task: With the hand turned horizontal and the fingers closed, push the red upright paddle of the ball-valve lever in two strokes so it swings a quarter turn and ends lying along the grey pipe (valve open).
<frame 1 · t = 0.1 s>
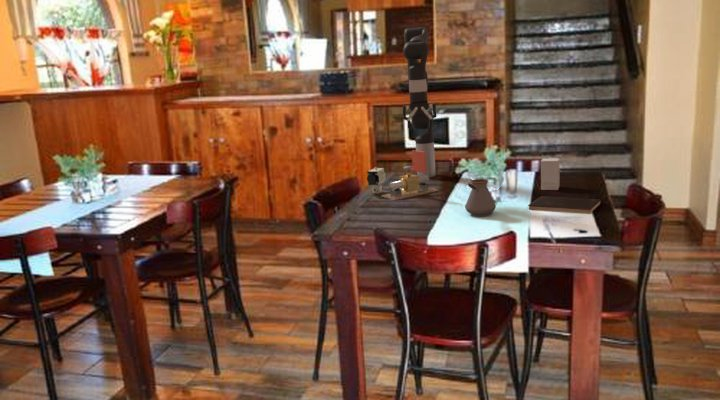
hand: (420, 128, 269), 30 cm above the table, tool pointing down, fingers open, 8 cm apart
valve body: (409, 193, 281), on the table
supplement box: (550, 188, 271), on the table
hardcover book: (564, 208, 239), on the table
lever: (414, 161, 273), point 15 cm above the table, hinge at 90.0°
coffee pot: (477, 217, 233), on the table
pneumatic valve: (378, 193, 288), on the table
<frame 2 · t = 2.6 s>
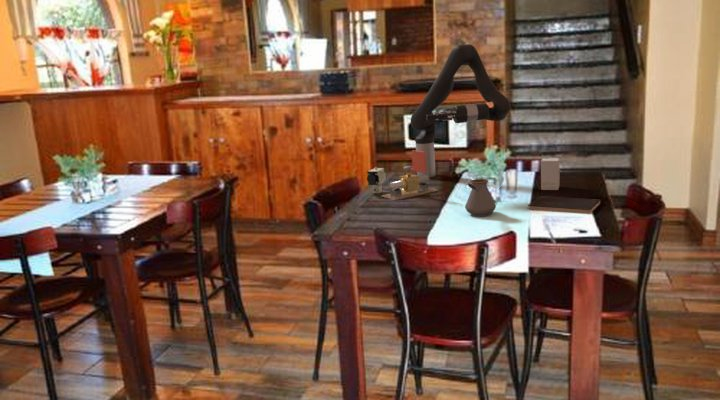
hand: (427, 118, 266), 34 cm above the table, tool horizontal, fingers closed
nothing on the table moved.
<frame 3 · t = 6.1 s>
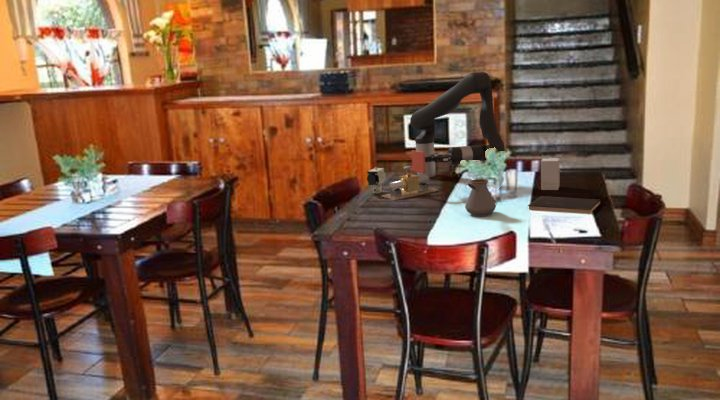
hand: (422, 159, 269), 16 cm above the table, tool horizontal, fingers closed
lever: (414, 161, 273), point 15 cm above the table, hinge at 87.6°, touching gripper
everything else where it was.
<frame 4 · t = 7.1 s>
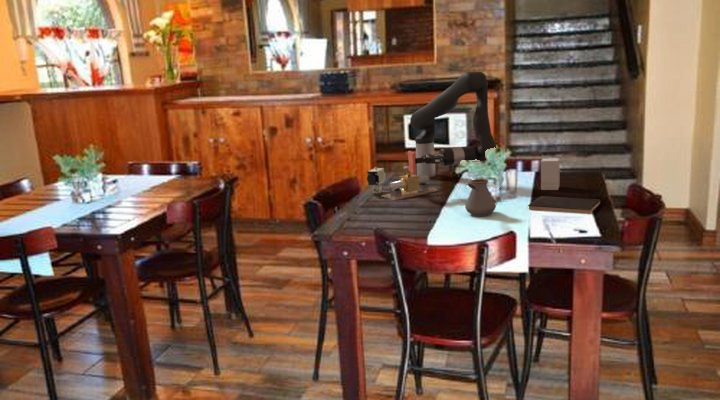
hand: (414, 161, 267), 16 cm above the table, tool horizontal, fingers closed
lever: (410, 161, 272), point 15 cm above the table, hinge at 66.2°, touching gripper
everything else where it was.
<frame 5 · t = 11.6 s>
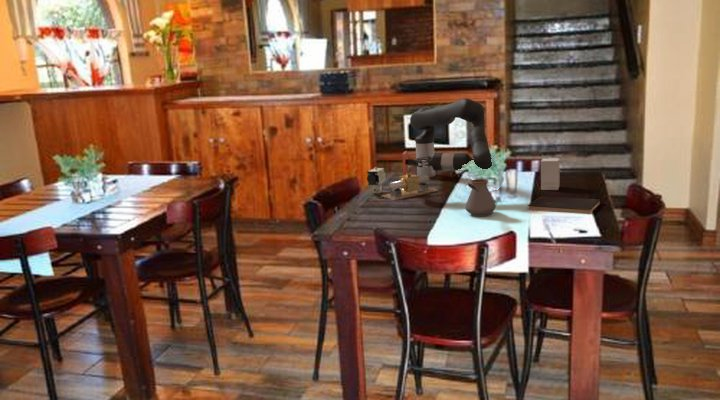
hand: (406, 161, 268), 16 cm above the table, tool horizontal, fingers closed
lever: (406, 162, 273), point 15 cm above the table, hinge at 46.5°, touching gripper
everything else where it was.
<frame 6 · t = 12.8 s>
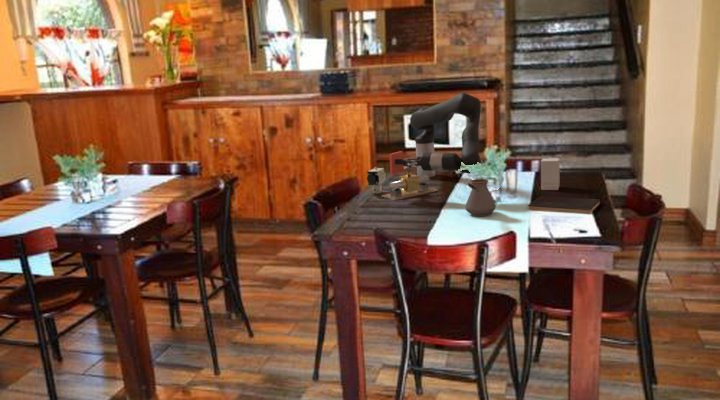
hand: (395, 161, 270), 16 cm above the table, tool horizontal, fingers closed
lever: (400, 162, 274), point 15 cm above the table, hinge at 18.0°, touching gripper
everything else where it was.
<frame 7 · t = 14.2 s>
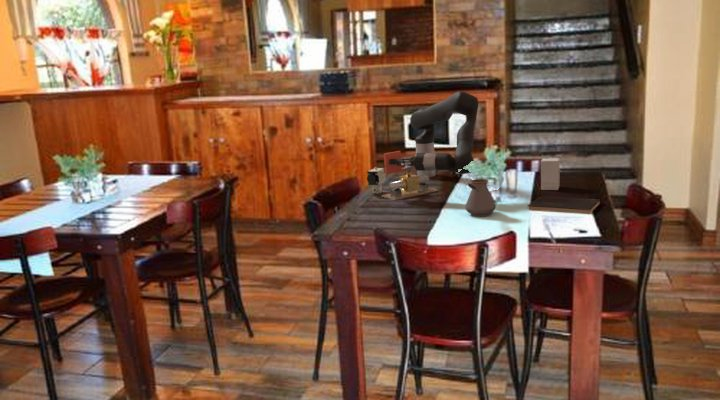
hand: (389, 161, 271), 16 cm above the table, tool horizontal, fingers closed
lever: (398, 161, 275), point 15 cm above the table, hinge at 1.9°, touching gripper
everything else where it was.
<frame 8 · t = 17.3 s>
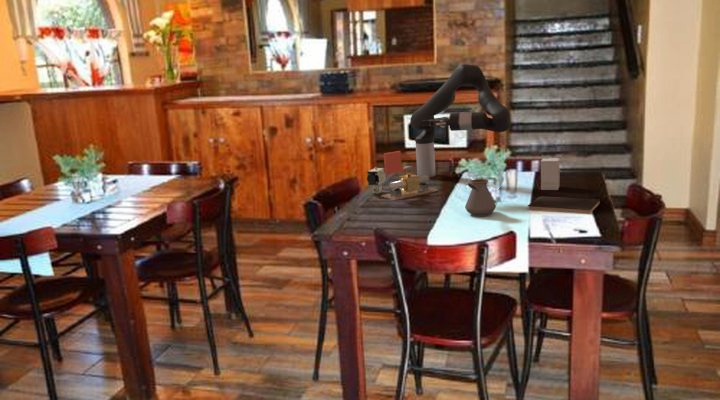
hand: (421, 123, 268), 32 cm above the table, tool horizontal, fingers closed
lever: (398, 161, 275), point 15 cm above the table, hinge at 1.9°
everything else where it was.
at the end: lever at +2° (first picture: +90°); lever touching nothing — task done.
